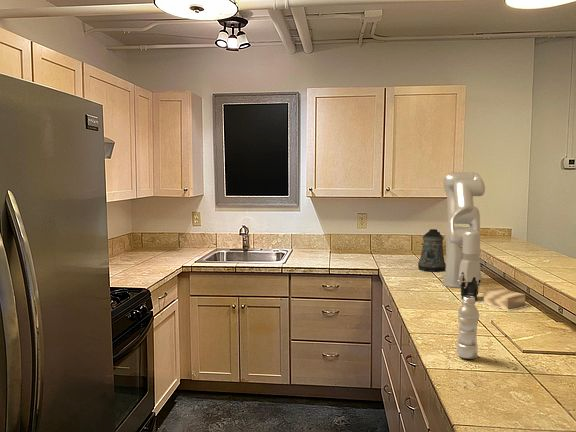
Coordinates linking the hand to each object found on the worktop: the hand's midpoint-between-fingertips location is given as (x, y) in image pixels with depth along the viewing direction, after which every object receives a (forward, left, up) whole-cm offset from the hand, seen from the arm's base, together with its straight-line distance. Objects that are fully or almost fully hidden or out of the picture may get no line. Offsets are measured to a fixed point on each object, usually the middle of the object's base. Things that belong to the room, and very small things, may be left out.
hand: (469, 294), depth 212 cm
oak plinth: (+13, +7, -2) cm, 15 cm away
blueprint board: (+13, +7, -3) cm, 15 cm away
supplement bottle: (0, 0, -3) cm, 3 cm away
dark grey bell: (-61, +40, -3) cm, 73 cm away
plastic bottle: (+44, -55, -3) cm, 71 cm away
